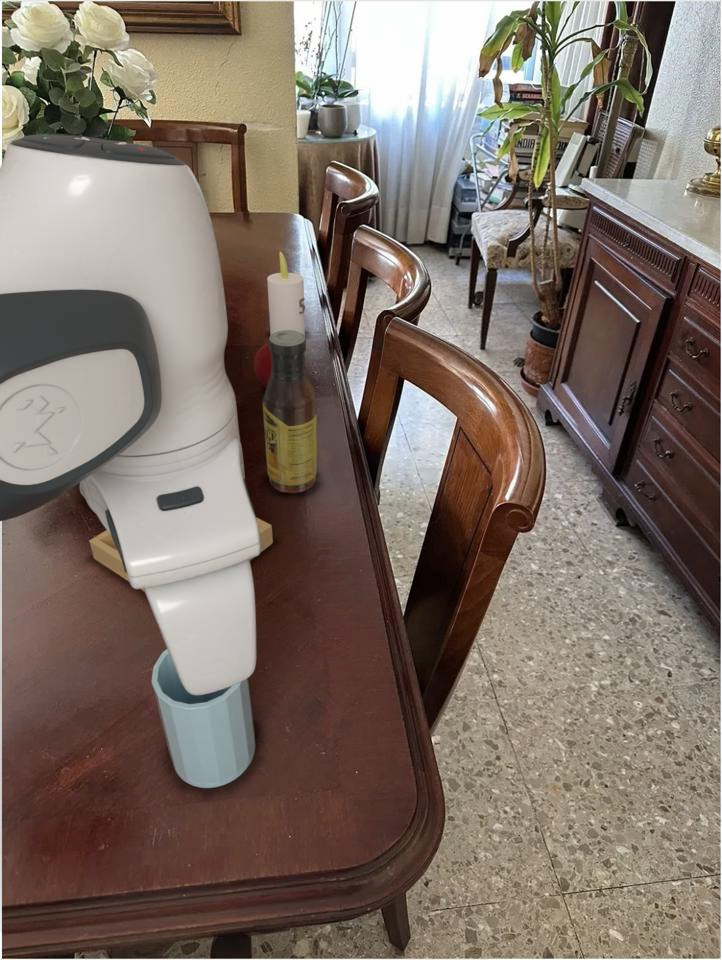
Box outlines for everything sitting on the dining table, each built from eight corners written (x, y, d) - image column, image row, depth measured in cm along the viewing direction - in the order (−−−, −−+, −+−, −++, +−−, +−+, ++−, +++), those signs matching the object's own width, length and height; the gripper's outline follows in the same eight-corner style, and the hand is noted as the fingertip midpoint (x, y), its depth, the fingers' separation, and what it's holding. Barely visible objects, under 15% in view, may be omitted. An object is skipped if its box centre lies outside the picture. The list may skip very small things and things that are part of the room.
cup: (213, 805, 50) (197, 725, 44) (154, 757, 53) (132, 676, 47) (272, 741, 54) (264, 661, 48) (215, 700, 57) (201, 620, 51)
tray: (180, 615, 65) (176, 596, 63) (93, 558, 71) (88, 540, 70) (273, 543, 74) (271, 525, 73) (189, 498, 80) (186, 481, 79)
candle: (294, 344, 118) (291, 260, 109) (263, 337, 120) (258, 254, 112) (312, 332, 123) (310, 250, 114) (281, 325, 125) (278, 244, 116)
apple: (255, 402, 100) (251, 354, 96) (255, 378, 107) (252, 331, 102) (305, 400, 101) (304, 352, 97) (302, 377, 108) (301, 330, 103)
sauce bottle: (267, 469, 86) (257, 323, 74) (316, 467, 87) (313, 322, 75) (268, 499, 81) (257, 348, 69) (319, 496, 81) (317, 346, 70)
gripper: (83, 385, 44) (123, 543, 52) (131, 591, 29) (178, 768, 37) (179, 369, 46) (203, 523, 54) (271, 552, 31) (286, 728, 39)
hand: (194, 624), depth 45 cm, fingers open, 8 cm apart
